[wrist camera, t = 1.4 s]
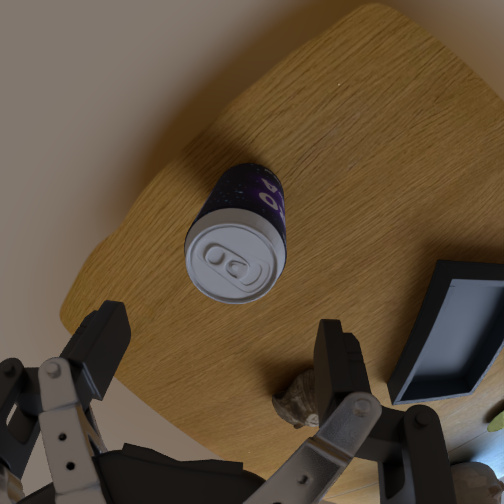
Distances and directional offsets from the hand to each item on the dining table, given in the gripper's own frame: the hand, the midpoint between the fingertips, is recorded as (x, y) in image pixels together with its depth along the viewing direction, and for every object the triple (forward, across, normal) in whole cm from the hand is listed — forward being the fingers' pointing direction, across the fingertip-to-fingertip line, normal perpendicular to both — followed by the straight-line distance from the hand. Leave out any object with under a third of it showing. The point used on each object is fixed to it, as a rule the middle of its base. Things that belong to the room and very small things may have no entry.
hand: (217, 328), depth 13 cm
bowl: (+17, -55, +69) cm, 90 cm away
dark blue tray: (+17, -26, +15) cm, 34 cm away
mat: (+17, -54, +39) cm, 69 cm away
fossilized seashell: (+17, -8, +25) cm, 31 cm away
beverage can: (+17, 0, 0) cm, 17 cm away
